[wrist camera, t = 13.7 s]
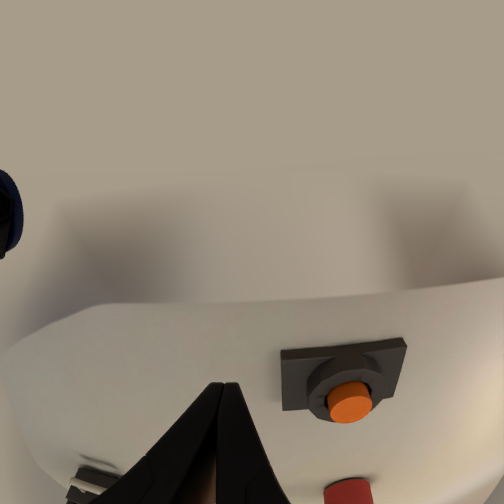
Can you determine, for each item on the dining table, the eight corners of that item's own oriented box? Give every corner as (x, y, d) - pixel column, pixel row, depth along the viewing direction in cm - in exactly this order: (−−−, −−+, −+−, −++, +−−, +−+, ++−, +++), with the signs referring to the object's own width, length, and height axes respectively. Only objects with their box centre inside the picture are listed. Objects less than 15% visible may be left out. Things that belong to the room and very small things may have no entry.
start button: (325, 409, 21) (328, 425, 20) (328, 382, 20) (332, 399, 18) (363, 404, 21) (368, 420, 19) (370, 377, 20) (376, 393, 18)
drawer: (68, 454, 31) (53, 486, 25) (126, 472, 31) (113, 508, 24) (105, 495, 36) (96, 522, 30) (156, 508, 36) (148, 538, 29)
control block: (282, 401, 24) (283, 427, 22) (280, 350, 22) (282, 376, 19) (389, 388, 24) (398, 411, 21) (402, 337, 22) (416, 359, 19)
